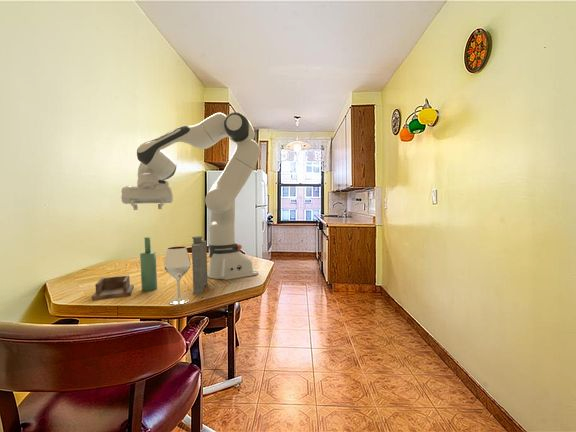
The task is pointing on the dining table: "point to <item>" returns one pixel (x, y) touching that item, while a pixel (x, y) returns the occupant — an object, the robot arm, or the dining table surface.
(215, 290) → the dining table surface
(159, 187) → the robot arm
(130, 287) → the u rest
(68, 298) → the dining table surface
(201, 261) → the hip flask
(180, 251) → the wineglass
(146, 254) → the bottle
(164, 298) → the dining table surface
